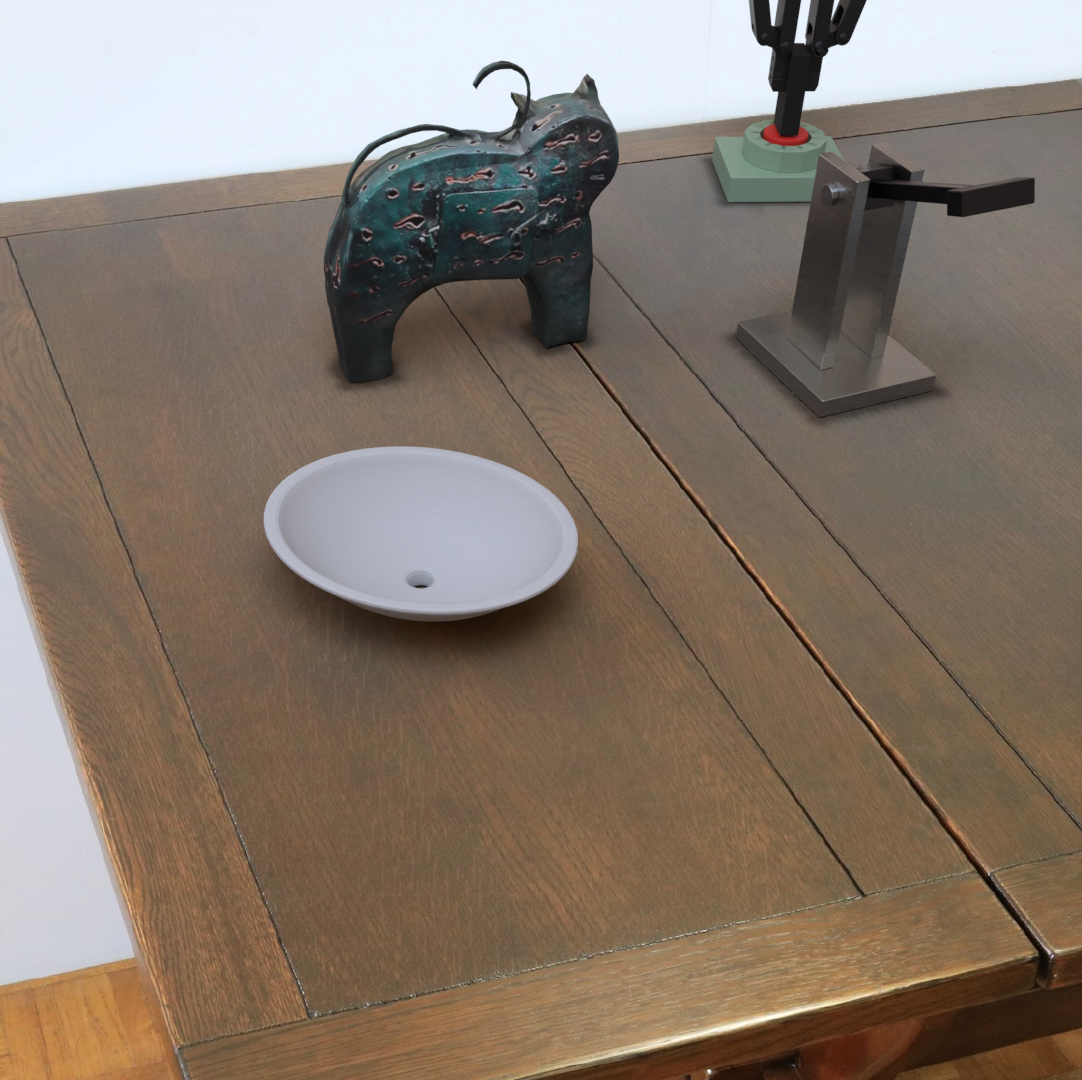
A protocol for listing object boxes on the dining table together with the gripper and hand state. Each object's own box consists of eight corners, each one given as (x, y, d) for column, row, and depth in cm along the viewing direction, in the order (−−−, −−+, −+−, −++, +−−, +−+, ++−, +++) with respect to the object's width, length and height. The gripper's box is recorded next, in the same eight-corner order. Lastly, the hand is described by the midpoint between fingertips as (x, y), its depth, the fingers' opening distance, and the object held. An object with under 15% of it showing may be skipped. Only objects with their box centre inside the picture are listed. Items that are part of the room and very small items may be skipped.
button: (800, 142, 127) (803, 122, 126) (809, 161, 125) (812, 140, 123) (757, 143, 127) (760, 123, 126) (765, 161, 124) (768, 141, 123)
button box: (827, 160, 131) (835, 115, 128) (848, 201, 125) (857, 155, 122) (711, 161, 130) (717, 115, 128) (727, 202, 124) (733, 156, 122)
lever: (1035, 211, 87) (1035, 168, 86) (962, 226, 85) (962, 182, 85) (886, 199, 99) (885, 161, 99) (821, 212, 98) (819, 173, 97)
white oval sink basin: (223, 633, 84) (214, 563, 80) (331, 489, 94) (327, 421, 90) (526, 714, 79) (530, 643, 76) (605, 554, 89) (611, 484, 86)
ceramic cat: (583, 307, 111) (603, 32, 98) (620, 351, 106) (645, 68, 93) (321, 354, 106) (304, 69, 93) (348, 402, 101) (334, 109, 88)
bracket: (932, 391, 103) (983, 185, 93) (819, 418, 100) (859, 209, 91) (843, 314, 111) (881, 117, 101) (735, 337, 108) (764, 137, 98)
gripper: (911, -202, 112) (853, 109, 128) (736, -203, 112) (699, 110, 127) (939, -175, 106) (875, 147, 122) (755, -176, 106) (714, 148, 122)
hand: (785, 128), depth 125 cm, fingers closed
